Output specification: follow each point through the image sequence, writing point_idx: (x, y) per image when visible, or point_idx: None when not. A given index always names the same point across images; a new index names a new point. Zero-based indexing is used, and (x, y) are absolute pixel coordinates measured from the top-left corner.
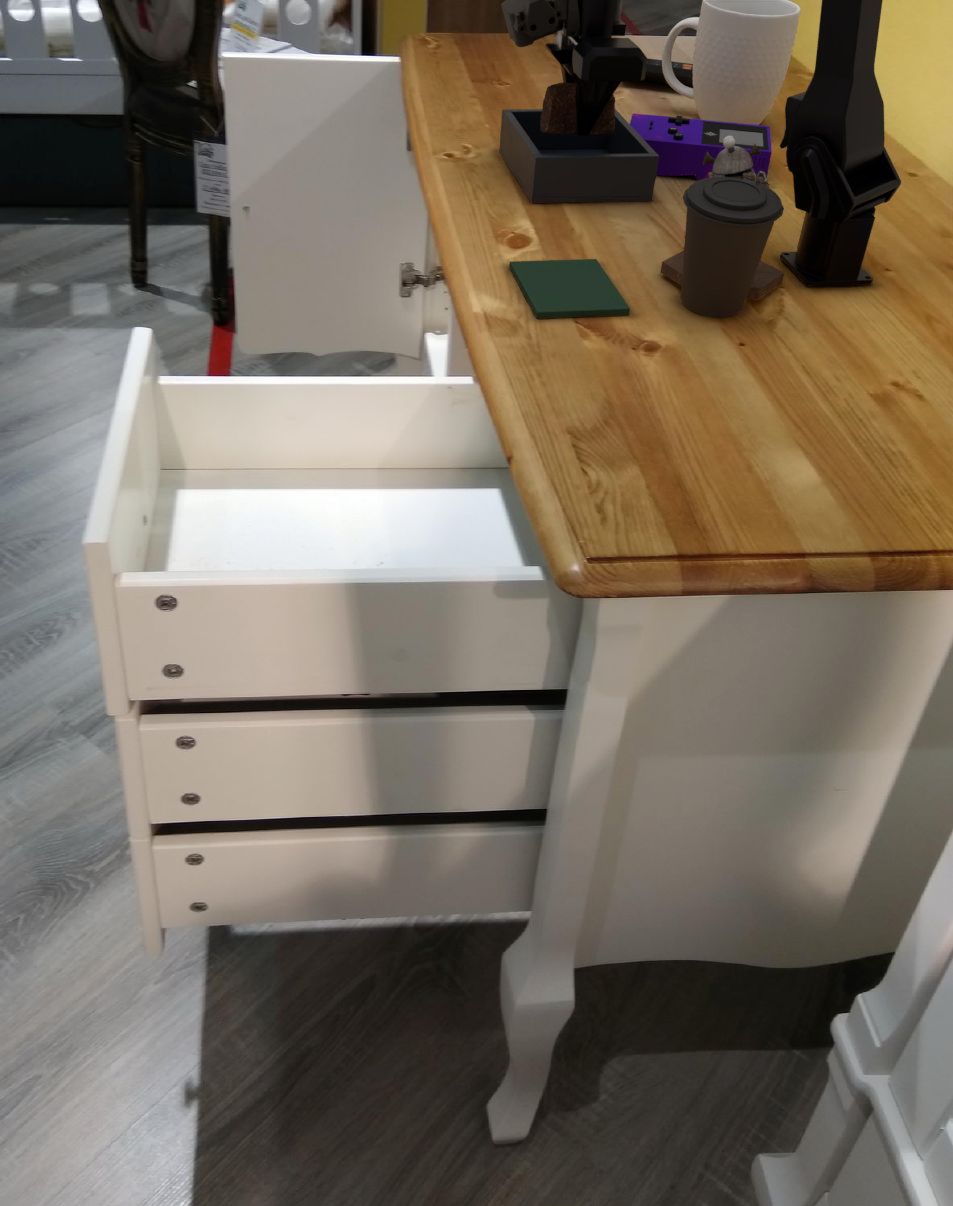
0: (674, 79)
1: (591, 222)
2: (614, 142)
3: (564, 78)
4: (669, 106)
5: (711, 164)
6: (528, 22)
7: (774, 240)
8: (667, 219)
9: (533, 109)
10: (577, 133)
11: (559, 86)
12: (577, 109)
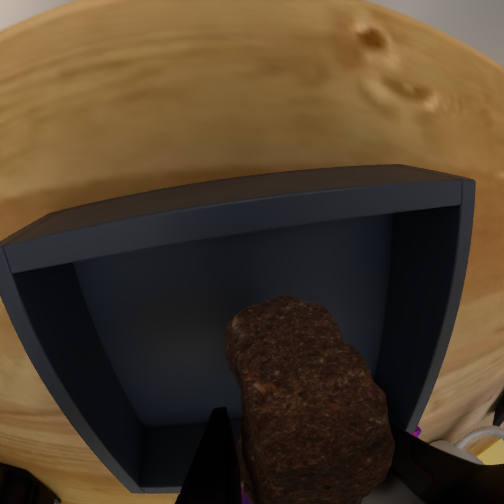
0: (483, 433)
1: (6, 325)
2: None
3: (415, 471)
4: (475, 407)
5: (245, 497)
6: None
7: (70, 483)
8: (72, 428)
9: (464, 277)
10: (221, 407)
11: (352, 470)
12: (201, 474)
